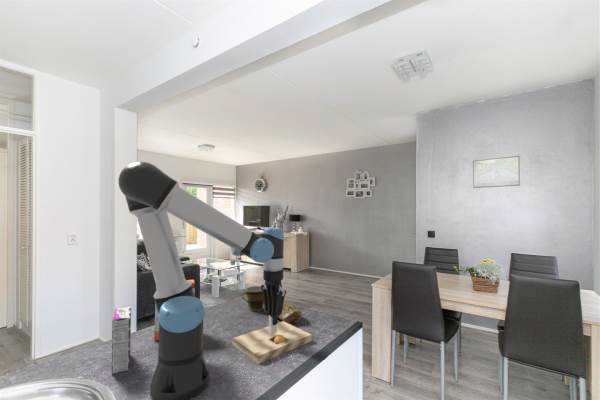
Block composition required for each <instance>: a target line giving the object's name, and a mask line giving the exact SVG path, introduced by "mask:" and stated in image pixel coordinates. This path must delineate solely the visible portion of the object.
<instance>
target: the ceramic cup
mask: <svg viewBox="0 0 600 400" xmlns="http://www.w3.org/2000/svg"><path fill="white" fill-rule="evenodd" d="M244 294H245V295H246V298H244V297H243V295H244ZM240 296H241V298H242V299H243V300H244V301H245V302H246V303H247V305H248V310H249V311H251V312H259V311H262V310H263V309H264V301H263V293H262V289H261V285H259V286H256V285H255V286H249V287H246V288H245V291H244V292H242V293H241V295H240Z"/></svg>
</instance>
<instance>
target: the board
mask: <svg viewBox="0 0 600 400" xmlns="http://www.w3.org/2000/svg"><path fill="white" fill-rule="evenodd" d="M278 335H281V336H283V337H284V338H285V342H282V343H280V344H275V343H274V339H275V337H276V336H278ZM312 336H313V335H312V334H311V333H309V332H307V331H305V330H304V329H300V328H298V327H296V326H294V325H292V324H291V323H286V322H284V321H282V320H281V321H279V322H277V332H276V333H273V334H270V333H269V325H268V326H265V327H262V328H259V329H256V330H252V331H250V332H248V333H243V334H240V335H239V336H236V337H232V343H231V345H232V346H233V347H235V348H236V349H237V350H238V351H240V352H241V353H243V354H244V355H245V356H247V357H248V358H249V359H251V360H252V361H254V362H255V363H256V364H258V365H260V364H262V363H264V362H266V361H269V360H271V359H273V358H276V357H279V356H281V355H283V354H285V353H288V352H289V351H292V350H295V349H297V348H298V347H301V346H304V345H306V344H308V343H310V342H312V339H313V338H312Z"/></svg>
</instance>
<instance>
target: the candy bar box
mask: <svg viewBox="0 0 600 400" xmlns="http://www.w3.org/2000/svg"><path fill="white" fill-rule="evenodd" d="M111 324H112V328H111V329H112V331H111V336H112V337H111V339H112V340H111V375H116V374H119V373H123V372H124V373H125V372H127V371H130V369H131V345H132V344H131V338H132V337H131V336H132V333H131V332H132V331H131V330H132V329H131V328H132V306H125V307H118V308H114V312H113V316H112V323H111Z"/></svg>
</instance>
